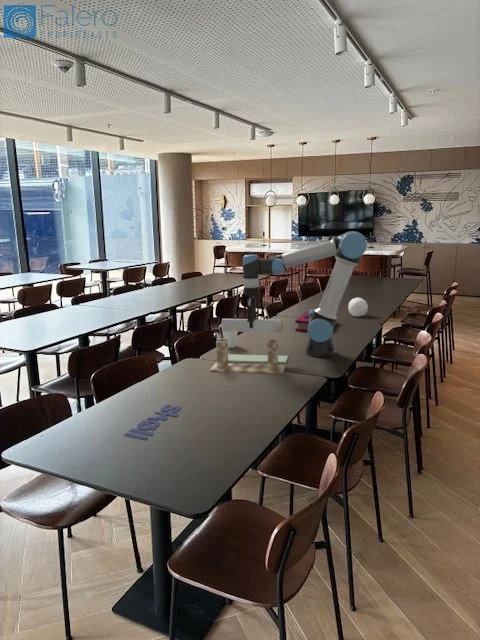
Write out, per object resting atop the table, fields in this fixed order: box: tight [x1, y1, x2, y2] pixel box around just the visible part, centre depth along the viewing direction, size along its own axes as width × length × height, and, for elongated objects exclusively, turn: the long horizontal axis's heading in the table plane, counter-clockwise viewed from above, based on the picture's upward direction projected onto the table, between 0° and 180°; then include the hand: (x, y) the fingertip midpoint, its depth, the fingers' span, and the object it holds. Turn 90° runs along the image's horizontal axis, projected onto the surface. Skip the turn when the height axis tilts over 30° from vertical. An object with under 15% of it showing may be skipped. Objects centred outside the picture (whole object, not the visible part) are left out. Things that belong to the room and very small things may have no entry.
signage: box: [123, 403, 182, 441], centre depth 170 cm, size 28×1×10 cm
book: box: [294, 311, 309, 333], centre depth 304 cm, size 21×28×8 cm
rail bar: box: [221, 318, 283, 334], centre depth 236 cm, size 30×3×6 cm, turn 79°
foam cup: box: [220, 323, 239, 349], centre depth 264 cm, size 10×9×13 cm
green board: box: [228, 354, 289, 364], centre depth 239 cm, size 34×10×1 cm, turn 79°
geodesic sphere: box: [347, 297, 369, 318], centre depth 331 cm, size 14×14×14 cm
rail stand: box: [209, 337, 286, 375], centre depth 222 cm, size 34×10×14 cm, turn 79°
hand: (252, 333), depth 236 cm, fingers closed on rail bar, 3 cm apart
